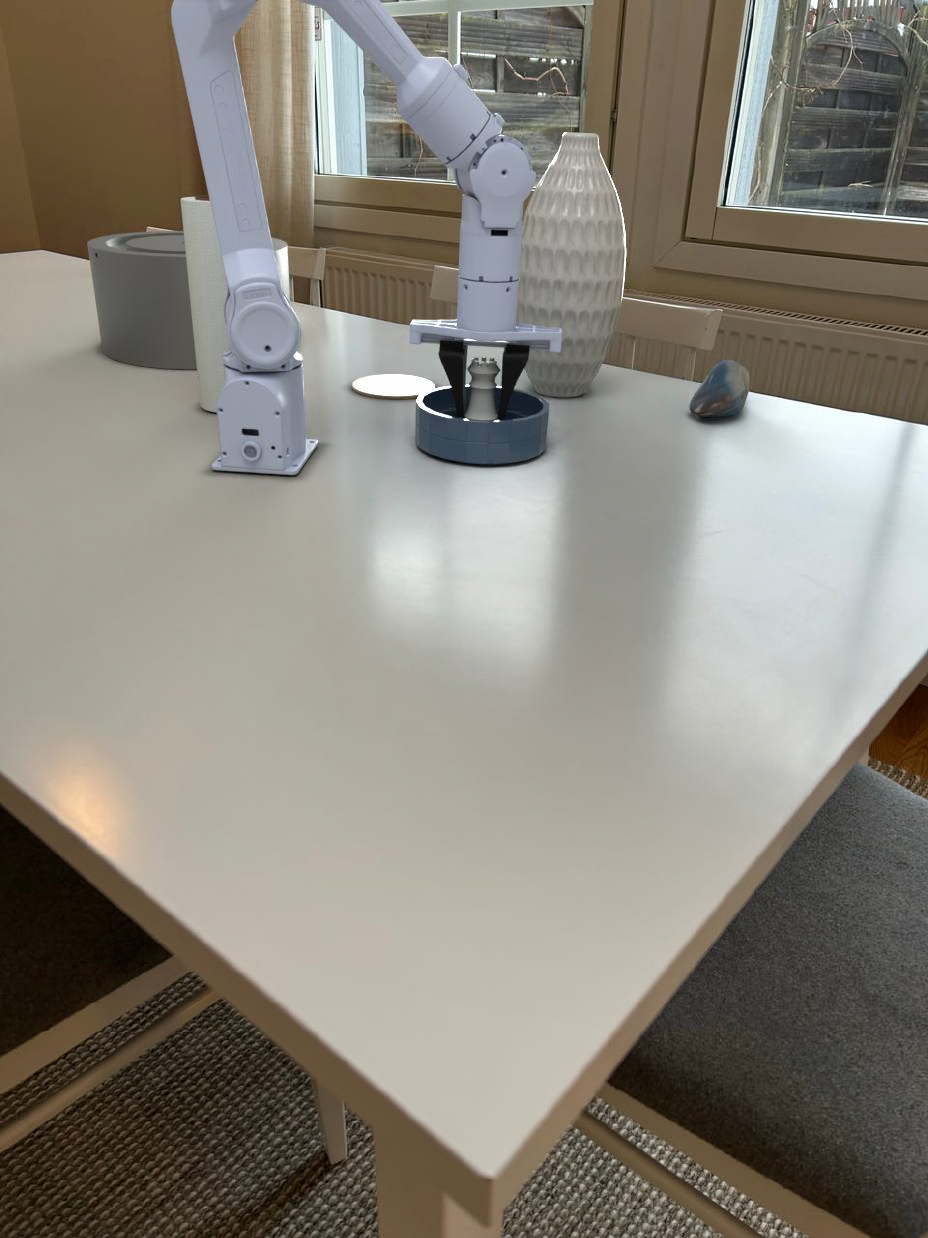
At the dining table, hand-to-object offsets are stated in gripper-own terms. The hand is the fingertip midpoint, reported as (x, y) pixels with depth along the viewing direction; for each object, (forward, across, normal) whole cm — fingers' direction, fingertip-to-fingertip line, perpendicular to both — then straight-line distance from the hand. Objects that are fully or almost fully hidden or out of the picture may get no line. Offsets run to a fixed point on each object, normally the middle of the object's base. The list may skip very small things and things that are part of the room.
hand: (481, 419), depth 95 cm
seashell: (+3, -27, -17) cm, 32 cm away
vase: (+3, -8, -23) cm, 25 cm away
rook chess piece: (+2, 0, 0) cm, 2 cm away
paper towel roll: (+3, +28, -8) cm, 29 cm away
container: (+3, +41, -35) cm, 54 cm away
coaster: (+3, +12, -20) cm, 23 cm away
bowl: (+3, 0, 0) cm, 3 cm away
